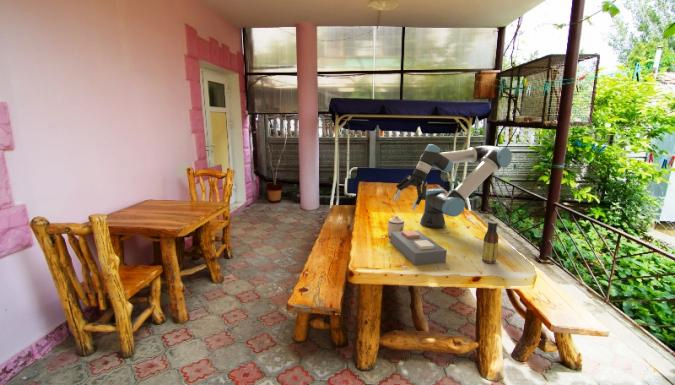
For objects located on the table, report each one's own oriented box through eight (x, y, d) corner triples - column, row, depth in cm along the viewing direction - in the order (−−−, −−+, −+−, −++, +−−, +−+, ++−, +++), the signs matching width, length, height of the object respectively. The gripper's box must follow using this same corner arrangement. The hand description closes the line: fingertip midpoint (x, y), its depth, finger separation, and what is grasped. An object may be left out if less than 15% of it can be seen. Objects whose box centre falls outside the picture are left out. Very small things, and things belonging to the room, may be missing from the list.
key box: (417, 240, 177) (418, 230, 175) (445, 262, 150) (446, 250, 149) (390, 242, 173) (391, 232, 171) (414, 265, 146) (415, 253, 145)
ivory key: (426, 247, 158) (427, 239, 157) (433, 253, 152) (434, 245, 151) (413, 248, 157) (413, 240, 156) (420, 254, 150) (420, 246, 149)
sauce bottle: (491, 258, 155) (497, 219, 151) (498, 264, 149) (504, 223, 145) (478, 258, 155) (483, 219, 151) (484, 264, 149) (490, 223, 145)
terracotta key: (413, 237, 171) (413, 230, 171) (419, 242, 165) (420, 234, 164) (401, 238, 170) (401, 231, 169) (407, 243, 163) (407, 235, 162)
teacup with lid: (401, 239, 178) (403, 219, 175) (385, 236, 181) (386, 217, 179) (405, 232, 189) (406, 213, 186) (390, 230, 192) (391, 211, 190)
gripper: (401, 162, 184) (384, 195, 185) (436, 175, 165) (416, 211, 166) (408, 167, 189) (391, 199, 190) (443, 180, 170) (424, 215, 171)
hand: (403, 204), depth 178 cm, fingers open, 13 cm apart
